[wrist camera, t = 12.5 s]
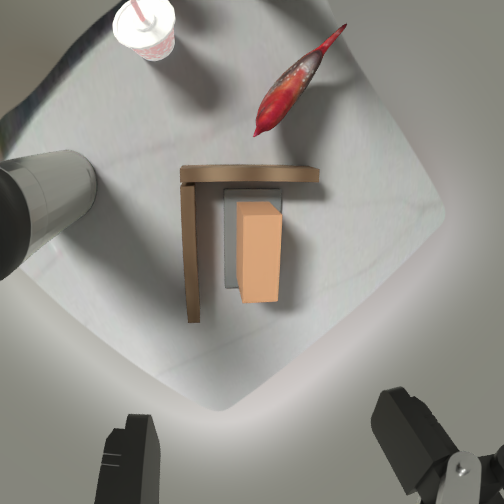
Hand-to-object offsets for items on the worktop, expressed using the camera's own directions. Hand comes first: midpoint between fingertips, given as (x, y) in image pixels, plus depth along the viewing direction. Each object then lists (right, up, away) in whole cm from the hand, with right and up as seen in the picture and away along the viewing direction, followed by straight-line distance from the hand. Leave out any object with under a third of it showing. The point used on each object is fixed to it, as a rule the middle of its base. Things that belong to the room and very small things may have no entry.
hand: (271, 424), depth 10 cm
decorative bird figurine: (+4, +26, +26) cm, 37 cm away
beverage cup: (-12, +31, +22) cm, 39 cm away
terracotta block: (-1, +7, +31) cm, 32 cm away
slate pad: (-1, +7, +32) cm, 33 cm away
